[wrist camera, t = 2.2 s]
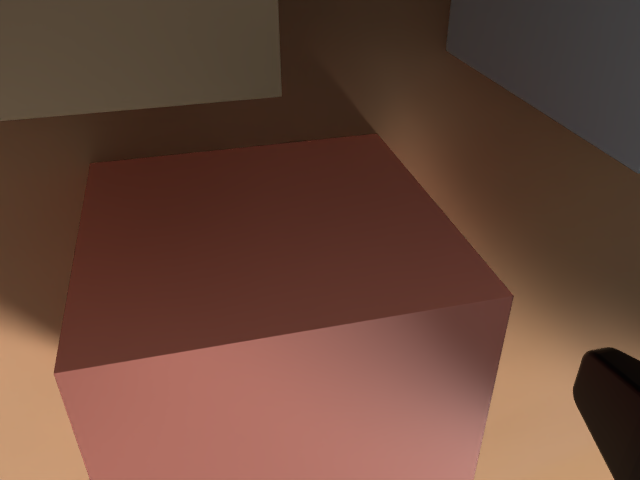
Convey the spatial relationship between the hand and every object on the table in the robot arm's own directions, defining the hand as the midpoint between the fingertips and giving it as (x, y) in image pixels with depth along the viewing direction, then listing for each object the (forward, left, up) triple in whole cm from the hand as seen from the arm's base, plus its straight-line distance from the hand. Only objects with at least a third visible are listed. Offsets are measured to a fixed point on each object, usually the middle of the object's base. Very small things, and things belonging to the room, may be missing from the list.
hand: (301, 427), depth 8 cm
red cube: (0, 0, -4) cm, 4 cm away
